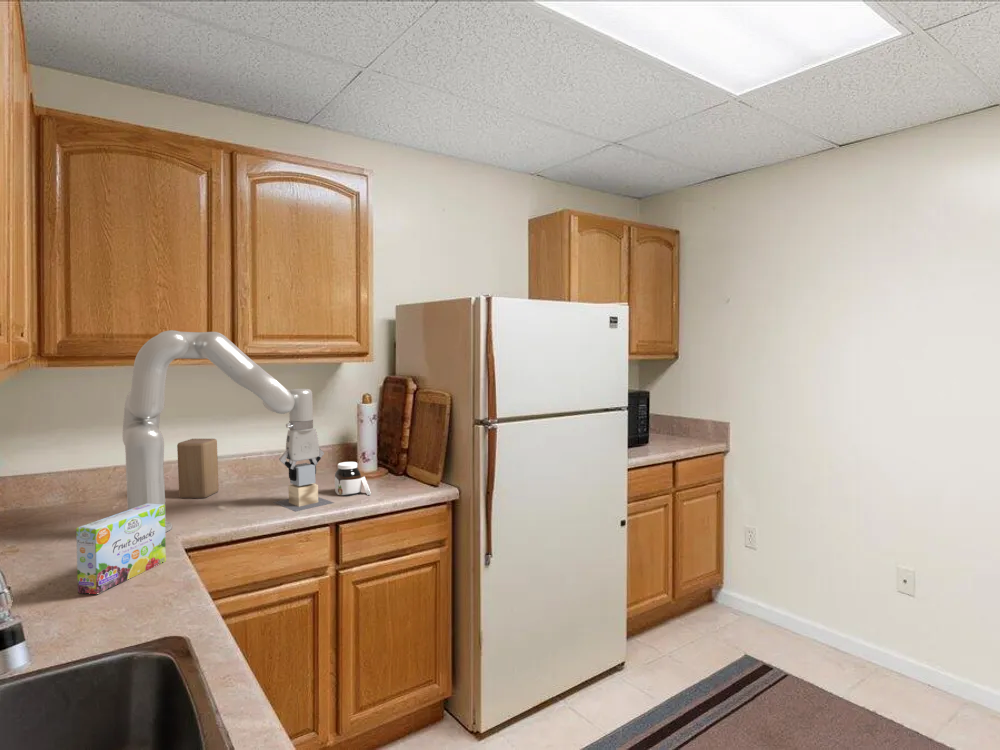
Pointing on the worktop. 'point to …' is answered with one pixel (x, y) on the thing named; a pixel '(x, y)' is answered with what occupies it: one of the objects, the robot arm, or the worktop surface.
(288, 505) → the build mat
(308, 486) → the base block
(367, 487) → the spread jar
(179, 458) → the block
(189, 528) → the worktop surface
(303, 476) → the grey cube
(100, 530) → the snack box
